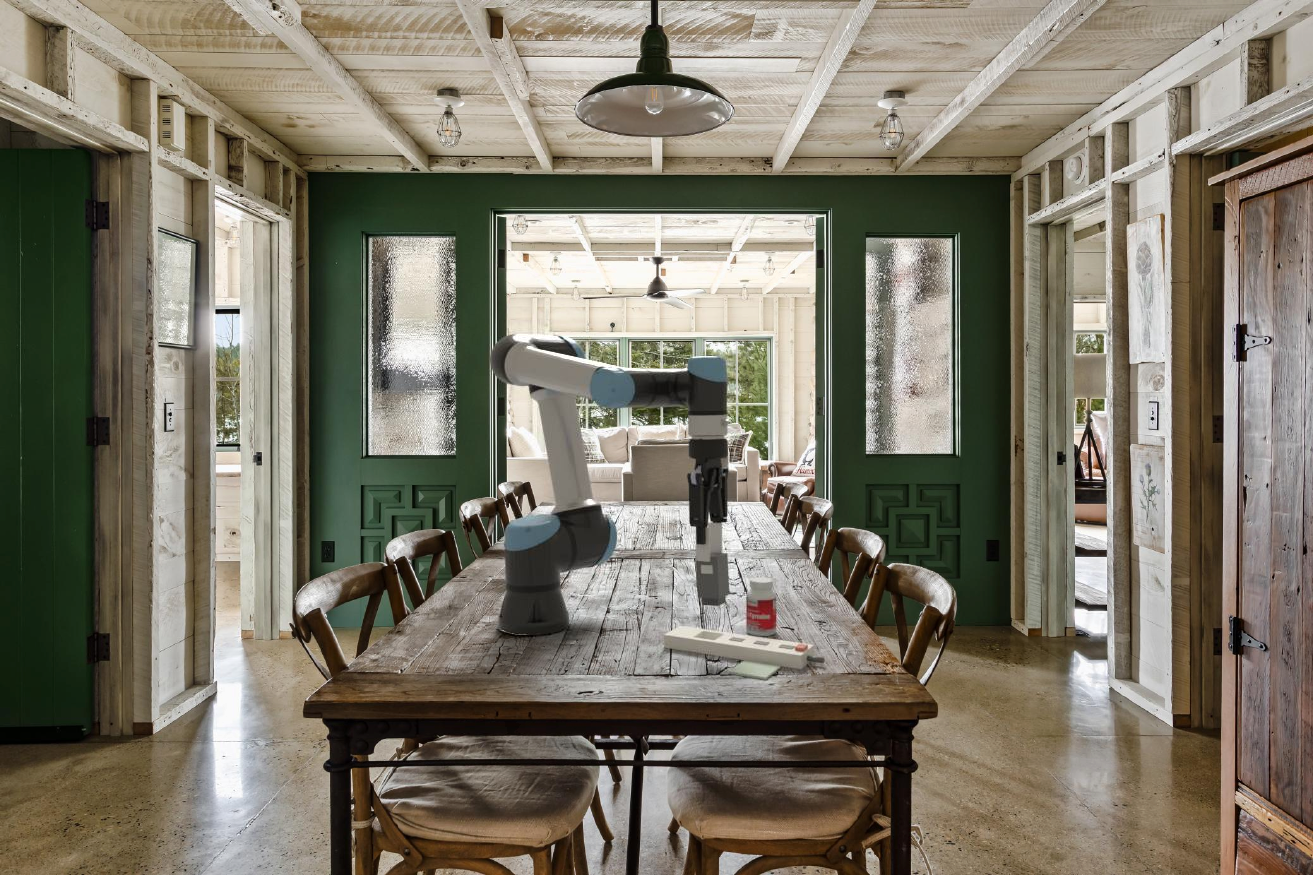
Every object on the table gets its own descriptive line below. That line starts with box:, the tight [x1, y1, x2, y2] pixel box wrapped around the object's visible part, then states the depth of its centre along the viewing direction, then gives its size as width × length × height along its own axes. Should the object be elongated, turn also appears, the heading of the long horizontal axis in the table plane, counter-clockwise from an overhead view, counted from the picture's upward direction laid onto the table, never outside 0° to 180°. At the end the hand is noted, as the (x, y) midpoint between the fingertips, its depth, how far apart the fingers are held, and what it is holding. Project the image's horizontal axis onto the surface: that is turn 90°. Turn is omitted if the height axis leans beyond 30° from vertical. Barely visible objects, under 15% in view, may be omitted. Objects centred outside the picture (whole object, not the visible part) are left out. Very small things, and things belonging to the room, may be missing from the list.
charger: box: [695, 552, 730, 607], centre depth 157 cm, size 5×5×10 cm
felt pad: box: [728, 660, 782, 681], centre depth 146 cm, size 7×7×1 cm
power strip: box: [663, 625, 825, 670], centre depth 155 cm, size 31×7×3 cm, turn 60°
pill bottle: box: [745, 577, 777, 637], centre depth 169 cm, size 6×6×11 cm
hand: (709, 558), depth 158 cm, fingers closed on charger, 5 cm apart
